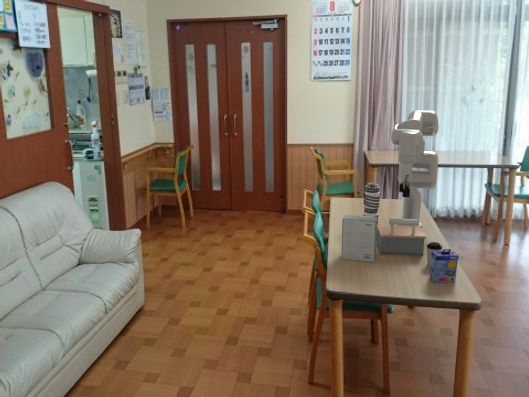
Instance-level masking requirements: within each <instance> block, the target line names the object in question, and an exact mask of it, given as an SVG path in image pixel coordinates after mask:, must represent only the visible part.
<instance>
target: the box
mask: <svg viewBox="0 0 529 397" xmlns="http://www.w3.org/2000/svg"><path fill="white" fill-rule="evenodd" d="M425 239H426V238H390V237H381V236H380V234H379V231H378V229H377V242H376V247H377V248H378V251H379V253H380V255H383V256H385V255H386V256H391V255H393V256H421V257H422V256H423V257H424V250H425Z"/></svg>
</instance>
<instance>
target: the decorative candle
mask: <svg viewBox="0 0 529 397" xmlns="http://www.w3.org/2000/svg"><path fill="white" fill-rule="evenodd" d="M364 187H365V188H364V192H363V208H364V209H363V210H364V211H363V214H362V216H372V217H377V225H379V208H380V206H379V205H380V204H381V203H380V201H381V200H380V199H381V197H380V195H381V192H380V187H381V186H380V185H379V184H378V183H377V182H367V184H366V185H364Z"/></svg>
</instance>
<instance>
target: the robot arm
mask: <svg viewBox="0 0 529 397" xmlns="http://www.w3.org/2000/svg"><path fill="white" fill-rule="evenodd" d="M438 132H439V118H438V115H437V113H436V112H435V111H434V110H412V111H411V112H410V113H409V114H408V116H407V119H406V120H405V121H402V122H399V123H397V124H396V125H395V126H394V127H393V129H392V132H391V135H390V139H391V143H392V144H393V145H396V146H398V159H397V162H398V163H399V164H398V174H397V181H398V182H399V186H398V193H402V194H401V195H402V196H401V197H402V198H403V202H402V205H403V207H402V218H401V219H418V225H415V226H420V228H422V227H423V223H422V222H421V207H422V193H421V192H420V190H419V189H424V190H427V189H428V190H430V189H431V190H432V189H433V190H434V188H436V185H437V180H438V166H439V156H438V154H437V152H435V151H430V150H429V151H427V150H426V151H425V149H426V148H425V146H426V141H425V139H424V137H435V136H437V134H438ZM413 168H414V169H416V170H413ZM417 169H422V170H417ZM423 169H424V170H423ZM427 170H428V171H427ZM404 226H412V225H404Z"/></svg>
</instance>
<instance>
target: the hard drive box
mask: <svg viewBox="0 0 529 397" xmlns="http://www.w3.org/2000/svg"><path fill="white" fill-rule="evenodd" d="M341 226H342V227H341V228H342V229H341V233H342V234H341V259H343V260H344V259H345V260H350V261H351V260H352V261H354V260H355V261H360V262H370V263H374V262H375V261H376V259H377V258H376V257H377V217H372V216H363V215H359V214H358V215H357V214H356V215H354V214H344V215H343V217H342V225H341Z"/></svg>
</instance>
